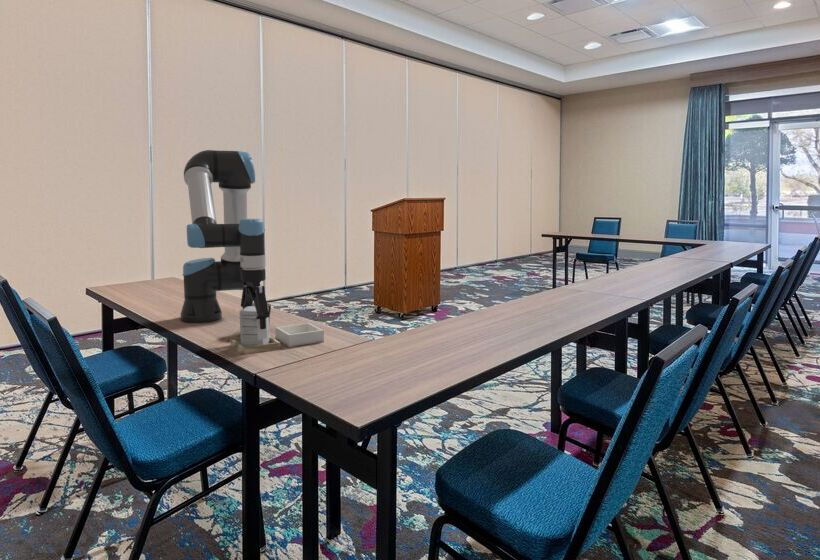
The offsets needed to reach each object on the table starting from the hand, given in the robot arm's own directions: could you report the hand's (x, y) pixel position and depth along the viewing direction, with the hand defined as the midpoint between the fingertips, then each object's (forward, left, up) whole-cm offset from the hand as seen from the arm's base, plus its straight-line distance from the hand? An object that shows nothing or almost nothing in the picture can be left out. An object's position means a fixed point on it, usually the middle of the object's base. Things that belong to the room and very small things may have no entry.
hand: (255, 334), depth 172 cm
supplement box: (0, 0, -4) cm, 4 cm away
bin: (0, +15, -4) cm, 16 cm away
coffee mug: (-18, +8, -4) cm, 20 cm away
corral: (0, 0, -4) cm, 4 cm away
